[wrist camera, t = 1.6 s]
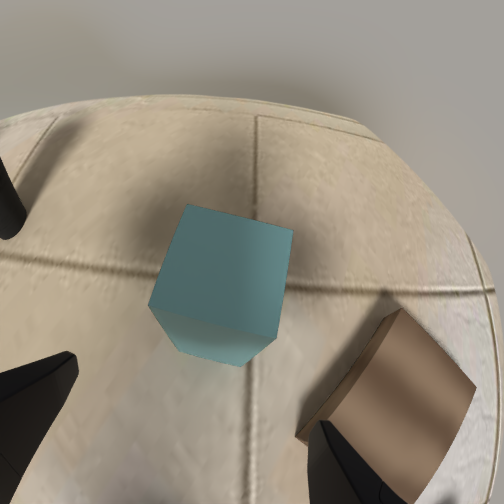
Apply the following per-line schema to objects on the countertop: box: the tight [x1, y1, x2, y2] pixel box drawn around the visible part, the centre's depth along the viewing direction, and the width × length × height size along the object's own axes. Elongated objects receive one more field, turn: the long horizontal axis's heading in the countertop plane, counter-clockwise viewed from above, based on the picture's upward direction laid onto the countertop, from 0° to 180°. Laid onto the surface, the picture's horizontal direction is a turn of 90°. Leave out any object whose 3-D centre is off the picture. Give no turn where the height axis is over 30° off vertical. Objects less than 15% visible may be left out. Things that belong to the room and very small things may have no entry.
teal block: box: [148, 204, 293, 367], centre depth 16 cm, size 5×5×12 cm
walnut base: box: [295, 308, 477, 504], centre depth 18 cm, size 14×14×3 cm
